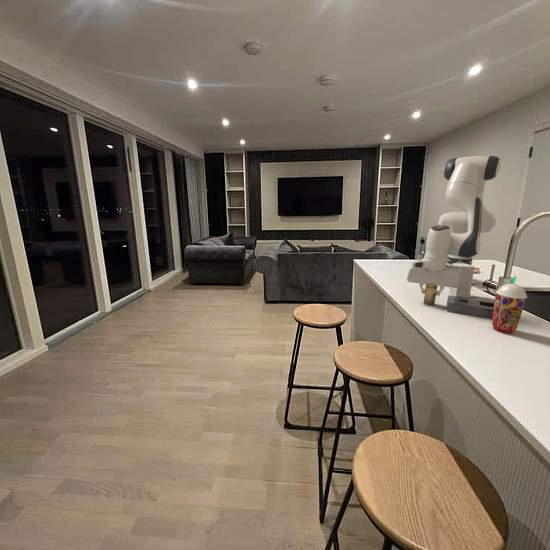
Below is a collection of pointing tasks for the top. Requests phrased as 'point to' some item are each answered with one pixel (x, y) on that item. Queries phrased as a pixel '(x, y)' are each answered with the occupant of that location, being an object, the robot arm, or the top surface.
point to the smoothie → (508, 307)
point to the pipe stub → (430, 294)
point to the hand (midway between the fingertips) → (430, 294)
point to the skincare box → (463, 281)
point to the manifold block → (470, 306)
